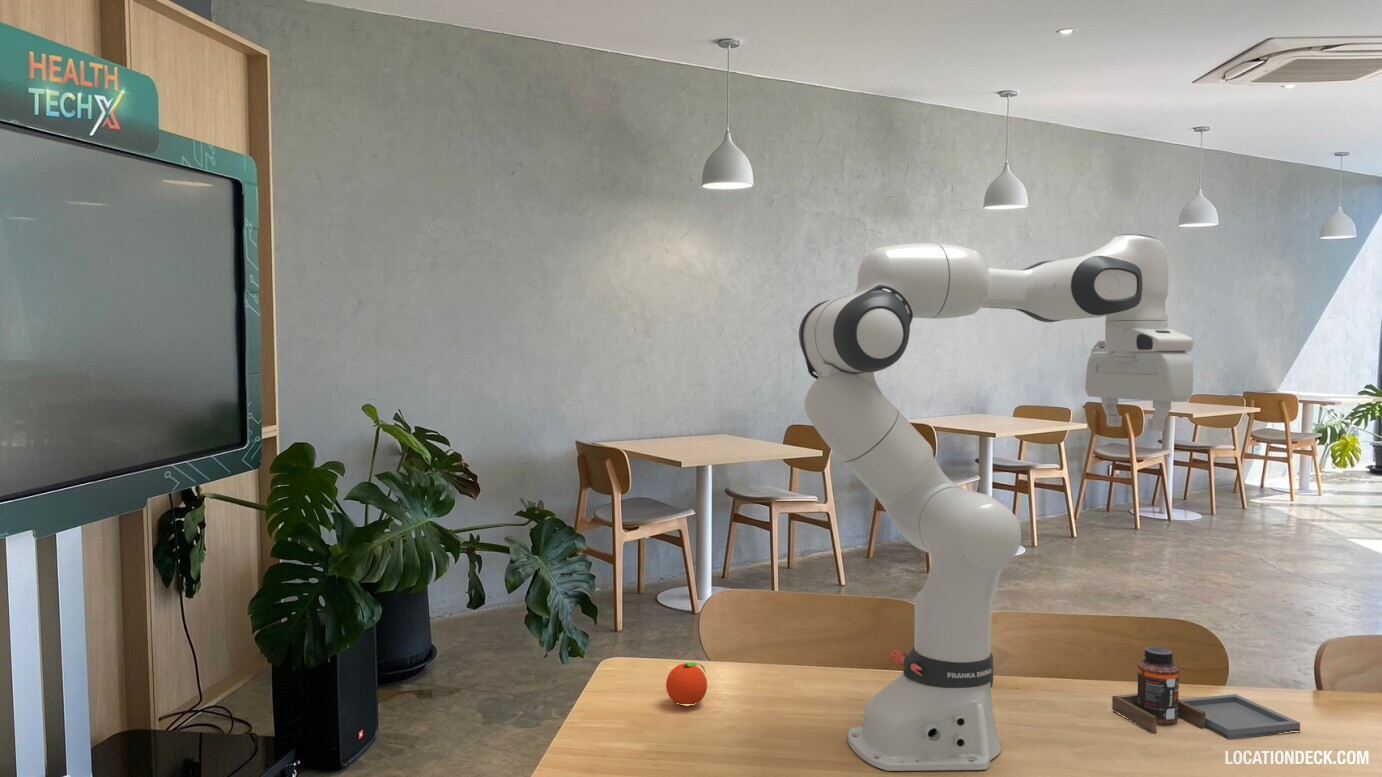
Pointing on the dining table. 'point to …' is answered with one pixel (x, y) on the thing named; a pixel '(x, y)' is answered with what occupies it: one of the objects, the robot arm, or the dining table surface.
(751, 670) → the dining table surface
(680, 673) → the clementine
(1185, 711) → the frame
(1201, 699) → the tray
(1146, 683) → the supplement bottle
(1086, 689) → the dining table surface
